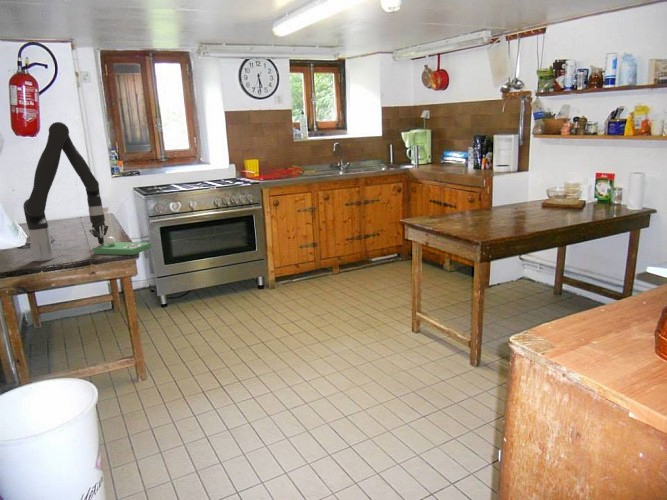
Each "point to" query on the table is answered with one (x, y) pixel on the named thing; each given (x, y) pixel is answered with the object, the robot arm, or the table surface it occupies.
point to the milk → (107, 224)
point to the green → (122, 248)
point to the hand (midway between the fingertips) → (101, 243)
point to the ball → (111, 241)
